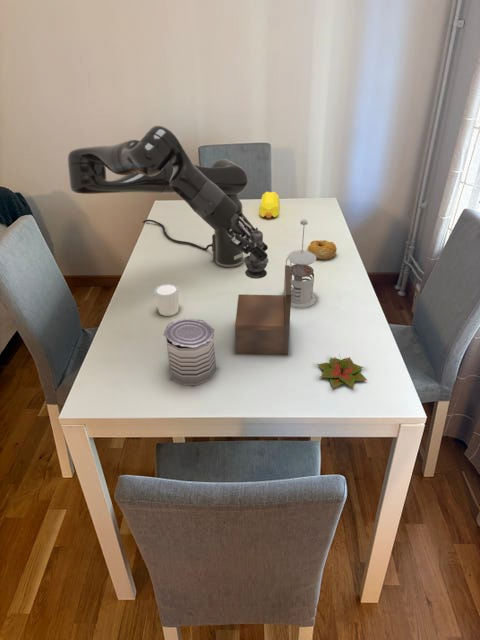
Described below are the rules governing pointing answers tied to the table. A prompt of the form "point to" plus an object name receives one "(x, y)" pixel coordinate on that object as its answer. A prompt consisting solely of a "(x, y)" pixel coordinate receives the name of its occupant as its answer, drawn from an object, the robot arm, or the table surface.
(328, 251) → the bagel
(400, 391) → the table surface
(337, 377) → the succulent plant
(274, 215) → the yellow lumpy bar
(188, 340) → the can
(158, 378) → the table surface
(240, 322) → the l-shaped wooden block
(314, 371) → the table surface
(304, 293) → the french press
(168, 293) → the white short cylinder
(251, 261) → the chess piece
